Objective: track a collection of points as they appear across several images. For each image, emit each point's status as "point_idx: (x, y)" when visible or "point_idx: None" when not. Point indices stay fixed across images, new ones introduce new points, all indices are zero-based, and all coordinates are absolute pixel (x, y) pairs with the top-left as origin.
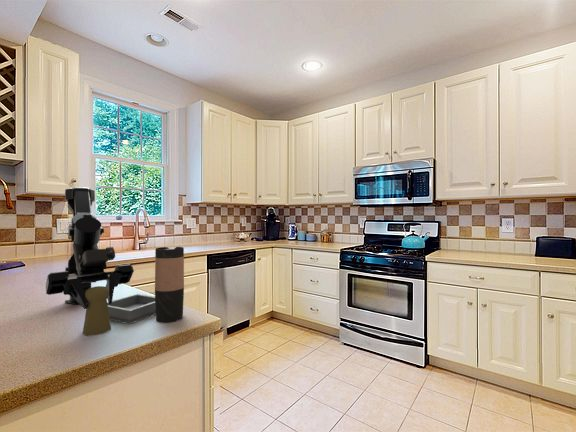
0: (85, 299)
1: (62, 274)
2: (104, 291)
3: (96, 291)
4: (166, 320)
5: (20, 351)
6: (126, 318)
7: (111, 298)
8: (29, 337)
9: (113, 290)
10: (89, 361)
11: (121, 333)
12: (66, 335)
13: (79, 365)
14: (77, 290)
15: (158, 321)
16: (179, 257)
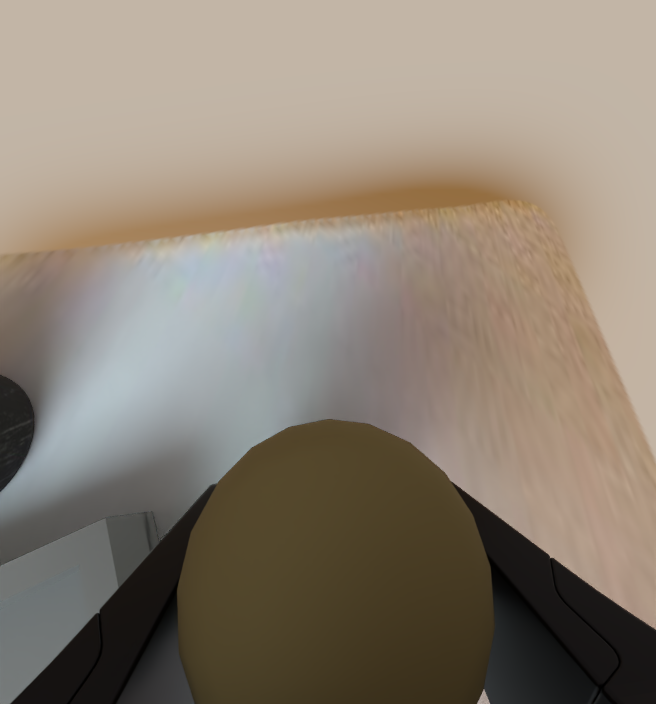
0: None
1: None
2: (268, 440)
3: (365, 432)
4: (5, 378)
5: (608, 459)
6: (145, 545)
7: (201, 504)
8: None
9: (115, 594)
10: (379, 224)
11: (238, 389)
12: None
13: (404, 218)
14: (633, 622)
15: (30, 421)
16: None
